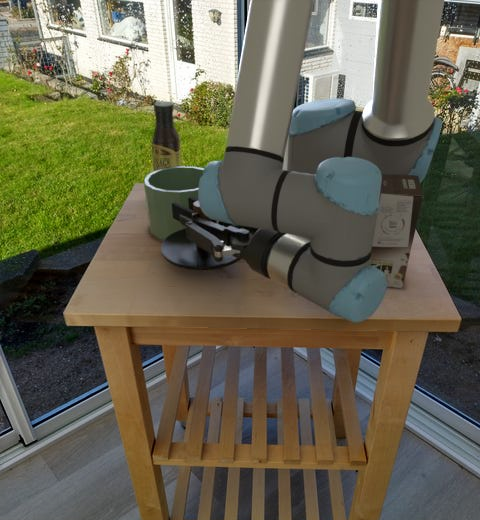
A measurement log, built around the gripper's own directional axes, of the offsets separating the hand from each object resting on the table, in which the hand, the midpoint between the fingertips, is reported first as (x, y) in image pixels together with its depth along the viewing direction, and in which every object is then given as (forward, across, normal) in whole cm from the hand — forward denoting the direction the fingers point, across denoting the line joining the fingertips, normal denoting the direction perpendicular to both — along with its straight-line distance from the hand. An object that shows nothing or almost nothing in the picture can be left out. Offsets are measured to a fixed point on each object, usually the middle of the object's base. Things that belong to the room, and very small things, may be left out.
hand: (182, 207), depth 85 cm
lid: (-5, 0, -6) cm, 8 cm away
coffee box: (-28, +22, -10) cm, 37 cm away
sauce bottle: (+27, +16, -11) cm, 34 cm away
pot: (+10, +7, -10) cm, 16 cm away
